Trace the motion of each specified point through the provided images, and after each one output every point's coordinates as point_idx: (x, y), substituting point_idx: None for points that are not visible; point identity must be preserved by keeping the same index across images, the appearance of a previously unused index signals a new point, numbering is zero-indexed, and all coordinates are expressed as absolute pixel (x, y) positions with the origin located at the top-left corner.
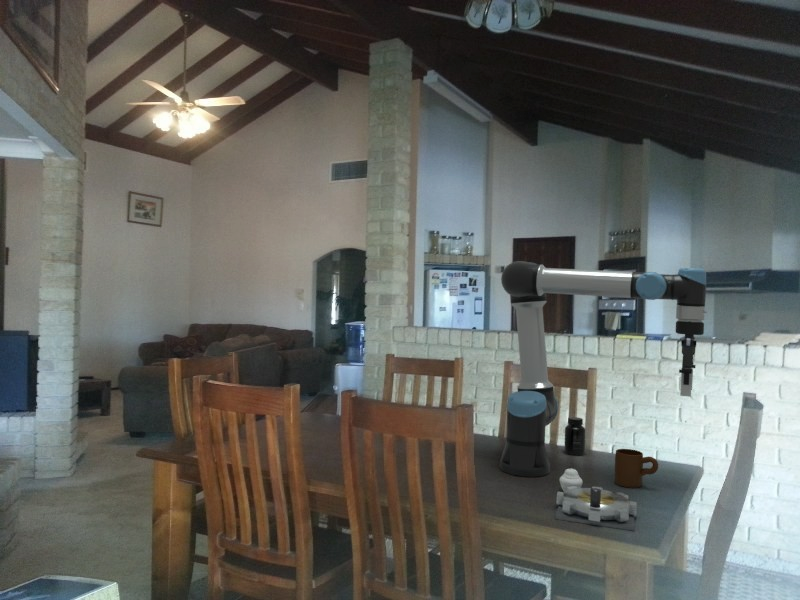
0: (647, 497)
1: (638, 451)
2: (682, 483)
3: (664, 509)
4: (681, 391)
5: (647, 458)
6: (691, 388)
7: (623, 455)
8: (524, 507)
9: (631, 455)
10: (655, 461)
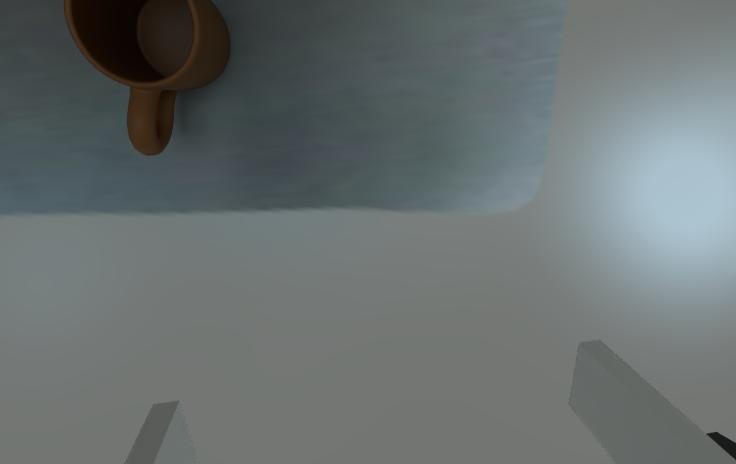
0: (82, 125)
1: (185, 61)
2: (319, 196)
3: (4, 188)
4: (136, 446)
5: (127, 114)
6: (578, 411)
7: (65, 1)
8: None
9: (75, 42)
10: (134, 147)
